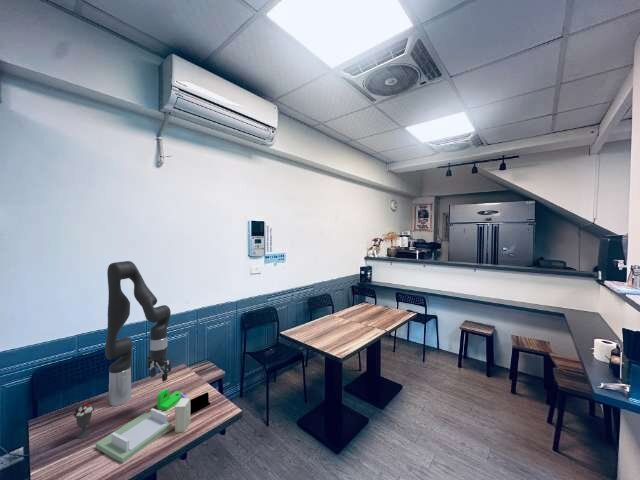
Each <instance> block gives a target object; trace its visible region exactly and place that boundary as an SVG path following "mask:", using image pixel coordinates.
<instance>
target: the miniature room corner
mask: <svg viewBox="0 0 640 480" xmlns="http://www.w3.org/2000/svg"><path fill="white" fill-rule="evenodd" d="M209 397H210V396H209V392H205V393H202V394H199V395H197V396H194V397H192V398H190V416H191V415H193V414H196V413H197V412H199V411H201V410H202V409H205V408H207V407H209V406H210V405H211V402H210V401H209ZM181 398H188V397H187V396H186V395H185V394H184V393H183V392H182V393H181V394H180V399H181Z"/></svg>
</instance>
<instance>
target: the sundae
mask: <svg viewBox="0 0 640 480" xmlns="http://www.w3.org/2000/svg"><path fill="white" fill-rule="evenodd" d="M90 401H91V398H88V400H87V401H86V402H84V403H83V404H82V405H80V407H79V408H74V413H73V415H72V416H73V417H75V419H76V424H77V426H78V428H82V429H81V430H82V431H81V432H80V433H78V434H77V435H76V439H79V440H81V439H84V438H87V437H88V436H90V435H91V434H92V432H93V430H91V429H87V426H88V425H89V424H90V423H91V419H92V414H93V412H94V411H95V407H94V406H91V404H90V403H89V402H90Z"/></svg>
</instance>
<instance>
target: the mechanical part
mask: <svg viewBox="0 0 640 480" xmlns="http://www.w3.org/2000/svg"><path fill="white" fill-rule="evenodd" d="M181 393H183V392H182V391H178V390H175V391H174V392H173V393H172V394H170V390H169V389H161V390H160V391H159V393H158V394H157V397H156V400H157V401H156V402H157V403H156V407H157V409H156V410H160V411H161V410H162V411H167V412H168V410H170V409H171V408H172V407H175V406H176V405H177V403H178V402H179V400H180V394H181Z"/></svg>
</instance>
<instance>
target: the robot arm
mask: <svg viewBox="0 0 640 480" xmlns="http://www.w3.org/2000/svg"><path fill="white" fill-rule="evenodd" d="M106 272H107V287H108V288H107V289H108V290H107V291H108V301H107V302H108V304H107V328H106V329H107V330H106V339H105V345H104V346H105V348H104V354H105V358H106V359H107V360H115V359H116V360H115V361H114V362H112V363H111V364H110V365H109V367H108V371H109V372H108V373H109V375H108V378H109V379H108V380H109V381H108V383H109V384H108V401H109V406H112V407H115V406H122V405H123V404H126V403H127V402H128V401H130V400H131V398H132V359H133V357H132V355H133V342H132V339H131V337H129V336H125V337H120V338H118V339H117V337H118V336H119V335H118V334H119V333H120V330H121V329H122V328H123V326H124V325H125V323H126V322H127V320H128V319H129V317H130V314H131V312H130V311H131V301H130V299H129V298H128V297H127V296H126V295H125V293H124V292H123V290H122V285H121V284H122V283H121V280H128V279H129V280H131V282H132V283H133V296H134V299H135V300H136V301H137V303H138V304H139V305H140V306H141V307H142V311H143V314H144V316H145V319H146V320H147V322H149V323H151V324H155V325H154V326H152V327H150V332H149V333H150V334H149V337H150V338H149V355H148V356H147V360H146V361H147V363H146V365H147V366H146V368H147V369H149V371H150V374H149V376H150V378H154V377H156V376H157V371H156V370H157V369H156V368H158V370H159V371H160V372H161V381H162V382H166V381H167V380H168V374H169V373H171V372H172V366H171V365H172V364H171V361H172V360H171V359H166V357H167V355H168V353H169V352H168V342H169V341H168V325H169V323H170V320H171V319H170V318H171V314H172V313H171V309H170V307H169V306H168V305H163V304H162V305H159V306H156V307H154V306H155V305H156V304H157V303H158V299H157V297H156V295H155V294H154V293H153V292H152V291H151V290H150V288H149V287H148V286H147V284H146V283H145V280H144V278H143V276H142V275H141V272H140V270H139V269H138V267H137V265H136V264H135V263H134V262H133V261H131V260H126V261H125V260H124V261H118V262H112V263H110V264H109V265H108V266H107V270H106ZM117 358H118V359H117Z"/></svg>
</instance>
